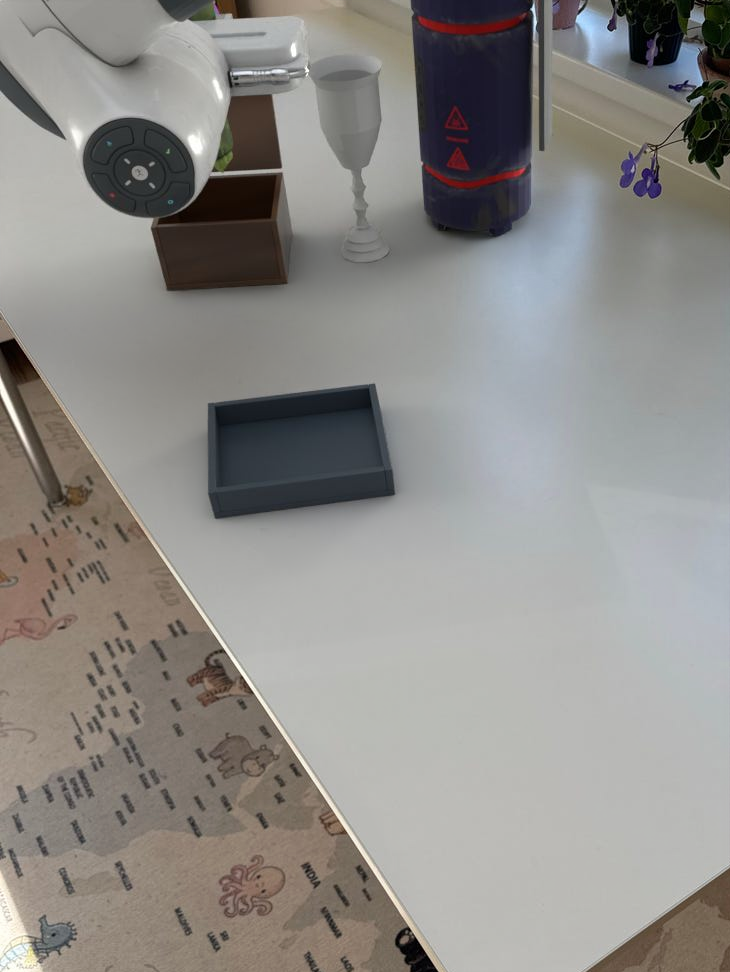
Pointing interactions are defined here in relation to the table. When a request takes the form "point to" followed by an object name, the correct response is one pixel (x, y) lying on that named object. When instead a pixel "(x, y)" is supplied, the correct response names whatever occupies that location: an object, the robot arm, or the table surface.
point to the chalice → (352, 135)
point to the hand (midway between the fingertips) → (191, 26)
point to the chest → (228, 235)
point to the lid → (253, 134)
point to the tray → (297, 450)
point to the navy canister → (479, 107)
